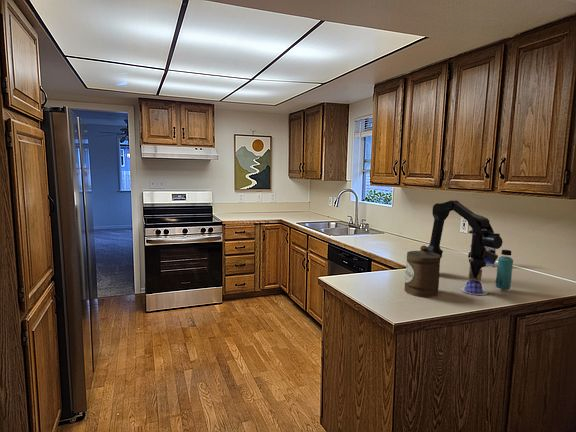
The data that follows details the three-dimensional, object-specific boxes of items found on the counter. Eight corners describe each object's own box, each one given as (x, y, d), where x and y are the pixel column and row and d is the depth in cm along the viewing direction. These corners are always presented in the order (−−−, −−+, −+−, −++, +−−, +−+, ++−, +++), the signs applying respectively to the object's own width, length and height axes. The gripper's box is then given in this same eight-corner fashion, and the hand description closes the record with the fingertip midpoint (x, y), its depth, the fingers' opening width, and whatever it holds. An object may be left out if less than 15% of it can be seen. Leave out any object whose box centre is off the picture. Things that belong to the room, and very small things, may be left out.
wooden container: (405, 285, 182) (408, 241, 179) (437, 289, 177) (441, 244, 174) (403, 294, 168) (406, 247, 166) (438, 299, 163) (442, 250, 160)
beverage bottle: (512, 290, 178) (516, 250, 175) (507, 293, 173) (512, 252, 171) (497, 287, 183) (501, 248, 180) (492, 290, 178) (497, 249, 175)
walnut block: (469, 279, 174) (470, 268, 173) (468, 276, 178) (469, 266, 178) (481, 280, 172) (482, 270, 171) (480, 277, 176) (481, 267, 176)
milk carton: (481, 265, 224) (484, 233, 222) (479, 263, 231) (482, 231, 228) (494, 267, 222) (497, 234, 220) (491, 264, 229) (495, 232, 226)
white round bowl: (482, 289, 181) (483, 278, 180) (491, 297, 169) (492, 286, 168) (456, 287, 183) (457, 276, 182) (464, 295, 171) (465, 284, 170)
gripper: (500, 250, 161) (496, 284, 163) (495, 242, 178) (491, 273, 180) (472, 247, 165) (468, 281, 168) (469, 240, 183) (466, 270, 185)
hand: (474, 276), depth 175 cm, fingers closed on walnut block, 5 cm apart
